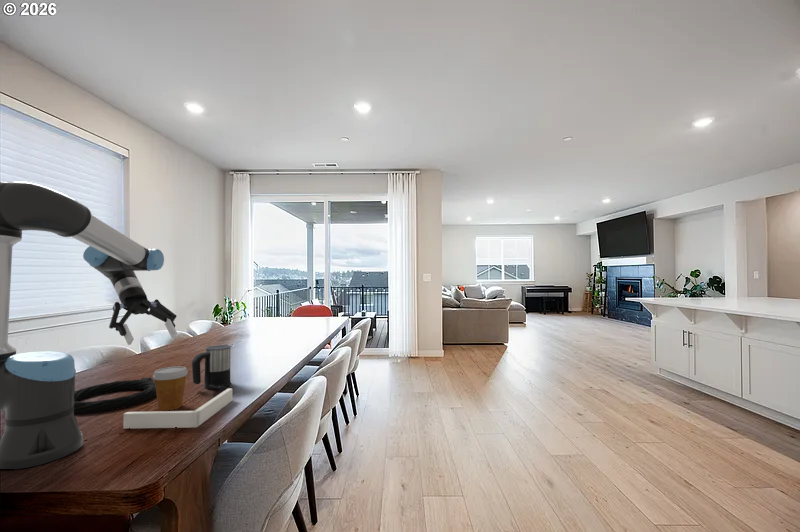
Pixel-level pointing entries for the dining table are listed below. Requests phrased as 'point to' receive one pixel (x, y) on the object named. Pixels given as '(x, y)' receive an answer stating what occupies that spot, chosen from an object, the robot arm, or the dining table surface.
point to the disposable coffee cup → (170, 387)
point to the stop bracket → (177, 415)
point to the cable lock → (116, 402)
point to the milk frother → (214, 367)
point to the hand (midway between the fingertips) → (153, 338)
